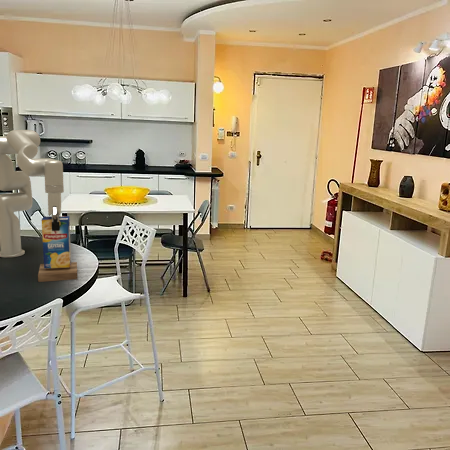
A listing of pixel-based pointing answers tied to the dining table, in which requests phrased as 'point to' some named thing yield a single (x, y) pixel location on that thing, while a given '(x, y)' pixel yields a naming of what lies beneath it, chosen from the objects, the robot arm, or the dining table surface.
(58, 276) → the walnut base
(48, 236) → the beverage box
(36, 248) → the dining table surface
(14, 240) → the robot arm
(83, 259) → the dining table surface
